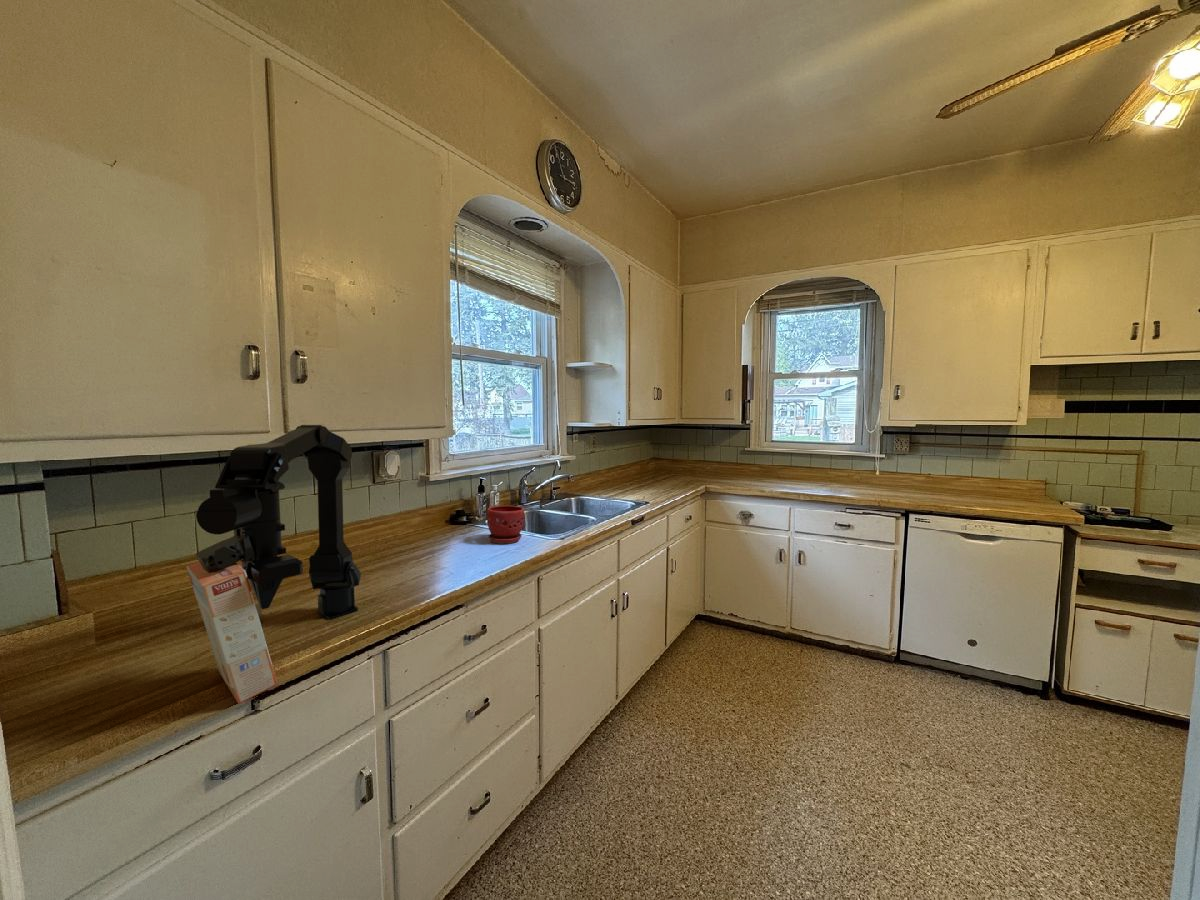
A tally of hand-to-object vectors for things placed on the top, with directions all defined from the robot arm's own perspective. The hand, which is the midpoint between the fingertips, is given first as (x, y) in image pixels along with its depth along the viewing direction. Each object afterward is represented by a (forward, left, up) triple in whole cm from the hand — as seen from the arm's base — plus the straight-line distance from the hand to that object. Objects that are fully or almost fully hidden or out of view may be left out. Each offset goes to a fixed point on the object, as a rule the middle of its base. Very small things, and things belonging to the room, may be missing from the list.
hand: (264, 608), depth 82 cm
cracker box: (+3, 0, -12) cm, 12 cm away
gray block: (-3, -27, -12) cm, 30 cm away
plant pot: (-84, -35, -12) cm, 92 cm away
